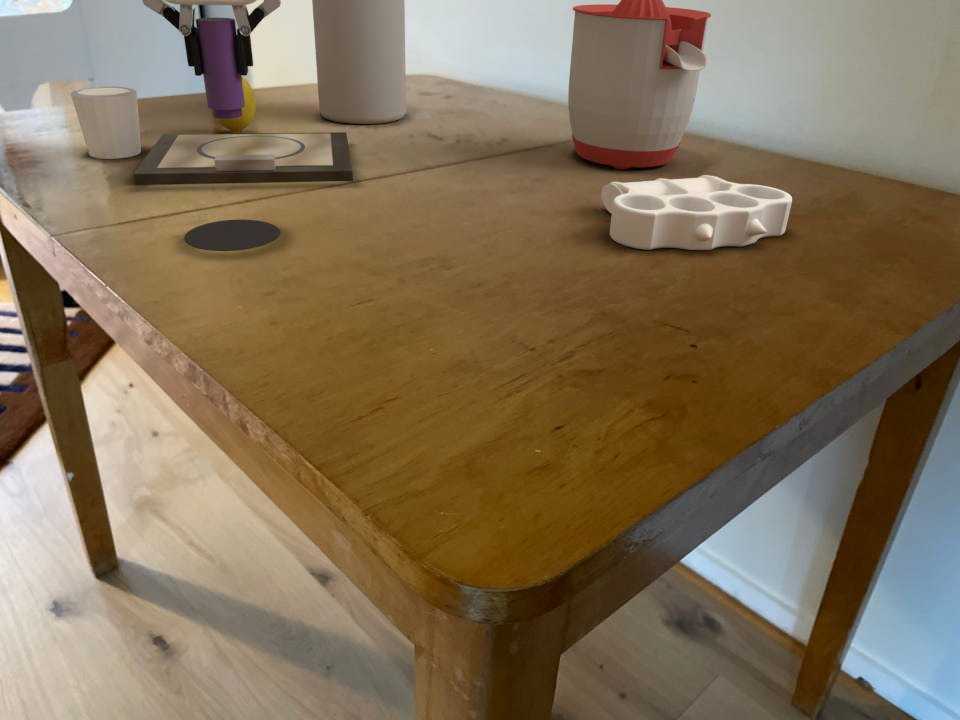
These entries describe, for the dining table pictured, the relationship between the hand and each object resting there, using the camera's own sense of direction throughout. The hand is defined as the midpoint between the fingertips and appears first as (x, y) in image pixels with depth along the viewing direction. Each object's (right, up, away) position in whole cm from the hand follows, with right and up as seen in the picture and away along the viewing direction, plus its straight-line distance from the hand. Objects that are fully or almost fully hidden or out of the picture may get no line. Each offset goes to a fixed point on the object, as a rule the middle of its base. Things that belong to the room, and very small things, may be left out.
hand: (222, 71), depth 86 cm
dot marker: (0, -4, +2) cm, 5 cm away
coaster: (+7, -21, -18) cm, 28 cm away
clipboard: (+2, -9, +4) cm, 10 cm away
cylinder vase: (+11, +4, +29) cm, 31 cm away
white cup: (-15, -7, +6) cm, 18 cm away
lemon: (-3, -2, +16) cm, 17 cm away
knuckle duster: (+48, -19, -11) cm, 53 cm away
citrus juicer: (+47, -7, +11) cm, 48 cm away
